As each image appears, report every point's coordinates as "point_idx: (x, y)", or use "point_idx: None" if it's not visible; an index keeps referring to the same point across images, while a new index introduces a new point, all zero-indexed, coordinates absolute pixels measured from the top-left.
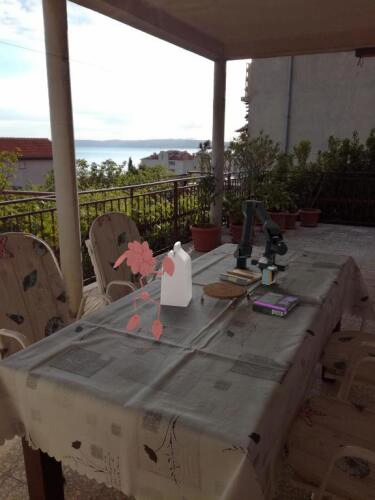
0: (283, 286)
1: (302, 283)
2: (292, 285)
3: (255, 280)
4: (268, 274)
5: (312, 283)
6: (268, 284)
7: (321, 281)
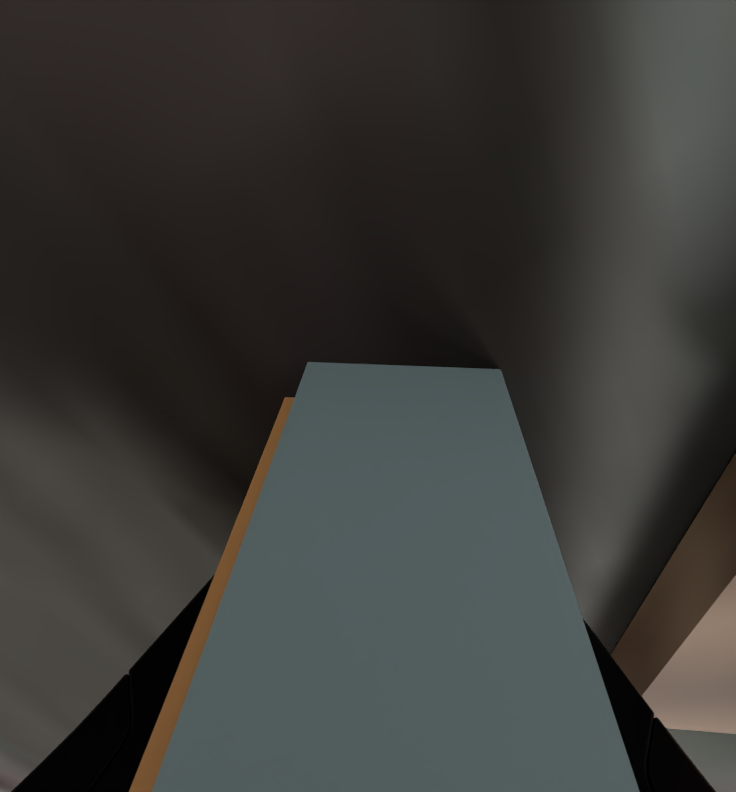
0: (97, 505)
1: (69, 685)
2: (65, 598)
3: (732, 486)
4: (234, 713)
5: (17, 714)
6: (300, 383)
7: (31, 761)
